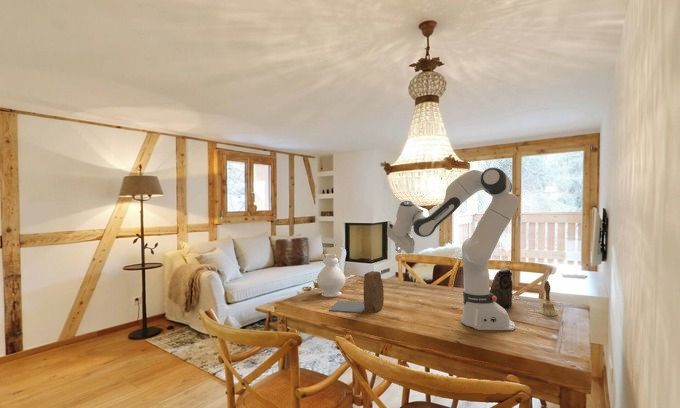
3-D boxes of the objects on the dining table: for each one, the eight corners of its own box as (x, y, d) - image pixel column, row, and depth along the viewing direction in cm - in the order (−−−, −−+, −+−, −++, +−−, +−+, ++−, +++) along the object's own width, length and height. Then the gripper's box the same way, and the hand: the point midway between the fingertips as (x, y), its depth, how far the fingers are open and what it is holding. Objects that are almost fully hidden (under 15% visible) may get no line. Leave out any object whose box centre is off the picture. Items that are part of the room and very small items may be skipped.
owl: (510, 302, 189) (509, 266, 189) (521, 309, 177) (520, 270, 177) (486, 302, 190) (485, 266, 190) (496, 309, 177) (495, 270, 177)
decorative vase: (336, 289, 227) (335, 251, 227) (351, 295, 212) (350, 254, 212) (312, 293, 218) (311, 254, 218) (326, 299, 202) (325, 257, 203)
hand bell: (547, 316, 164) (546, 283, 164) (534, 311, 172) (534, 279, 172) (562, 315, 165) (561, 282, 166) (549, 310, 174) (548, 279, 174)
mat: (369, 303, 193) (369, 302, 193) (362, 313, 176) (362, 312, 176) (338, 301, 198) (338, 300, 198) (328, 311, 181) (328, 309, 181)
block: (374, 313, 174) (373, 274, 174) (362, 311, 179) (361, 272, 179) (385, 308, 182) (385, 271, 183) (374, 306, 187) (373, 269, 188)
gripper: (419, 238, 175) (414, 260, 180) (396, 220, 191) (392, 241, 196) (409, 240, 172) (404, 263, 178) (386, 221, 188) (383, 243, 194)
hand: (398, 251), depth 187 cm, fingers closed
